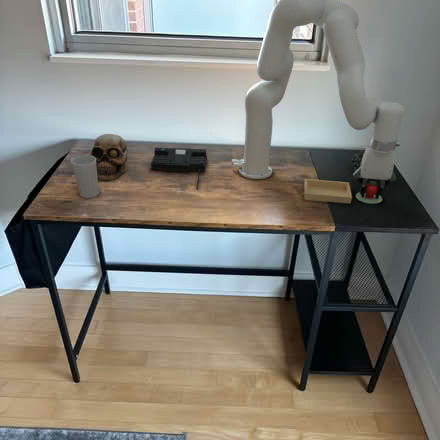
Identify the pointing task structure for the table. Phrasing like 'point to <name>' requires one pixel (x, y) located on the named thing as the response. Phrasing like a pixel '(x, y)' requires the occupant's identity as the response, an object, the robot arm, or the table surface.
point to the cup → (86, 175)
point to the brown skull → (109, 156)
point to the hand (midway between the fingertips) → (369, 195)
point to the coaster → (368, 199)
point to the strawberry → (371, 189)
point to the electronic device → (180, 160)
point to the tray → (327, 191)
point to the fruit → (357, 160)
